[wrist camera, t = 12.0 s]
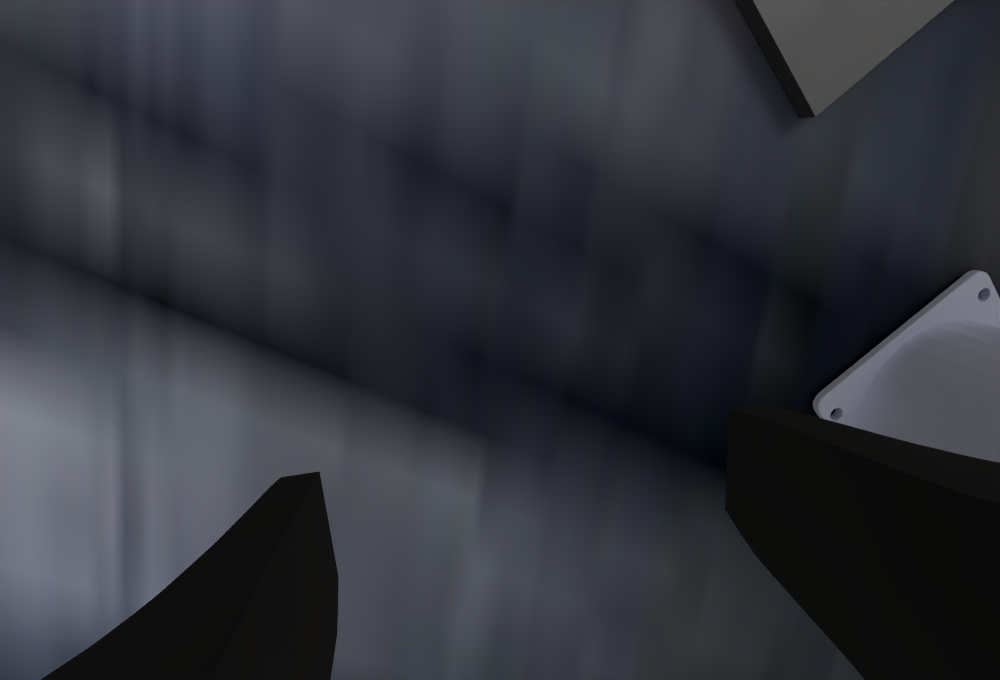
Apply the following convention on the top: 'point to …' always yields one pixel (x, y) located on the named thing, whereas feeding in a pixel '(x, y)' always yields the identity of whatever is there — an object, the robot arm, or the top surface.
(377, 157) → the top surface
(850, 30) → the stud plate
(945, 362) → the robot arm
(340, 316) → the top surface
